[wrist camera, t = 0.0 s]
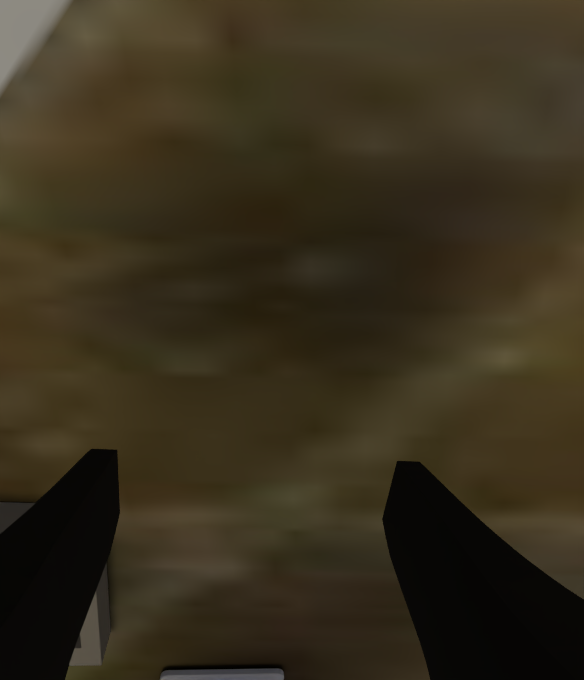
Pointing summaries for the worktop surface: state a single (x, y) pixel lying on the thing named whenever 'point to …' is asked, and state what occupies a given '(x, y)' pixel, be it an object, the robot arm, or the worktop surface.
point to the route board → (98, 616)
